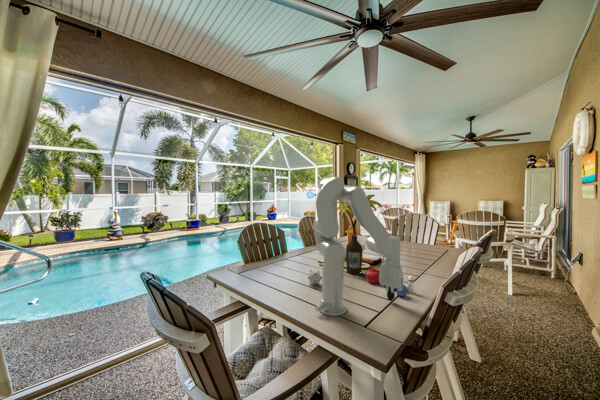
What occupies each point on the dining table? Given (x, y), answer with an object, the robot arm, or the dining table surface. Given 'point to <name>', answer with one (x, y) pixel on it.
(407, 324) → the dining table surface
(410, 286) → the pin
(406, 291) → the ball
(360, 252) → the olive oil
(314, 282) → the game die
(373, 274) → the pomegranate
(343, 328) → the dining table surface
